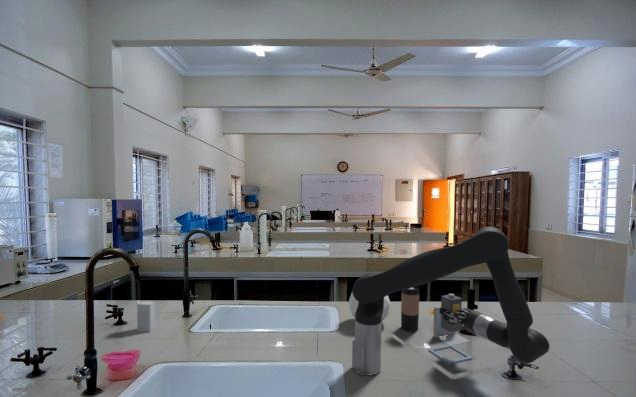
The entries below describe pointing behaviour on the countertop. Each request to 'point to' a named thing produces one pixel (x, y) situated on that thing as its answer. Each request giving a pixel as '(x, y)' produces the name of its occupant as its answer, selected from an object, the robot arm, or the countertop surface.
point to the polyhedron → (354, 303)
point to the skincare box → (146, 316)
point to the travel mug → (410, 309)
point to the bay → (439, 331)
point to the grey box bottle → (451, 305)
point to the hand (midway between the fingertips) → (446, 309)
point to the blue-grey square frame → (452, 360)
